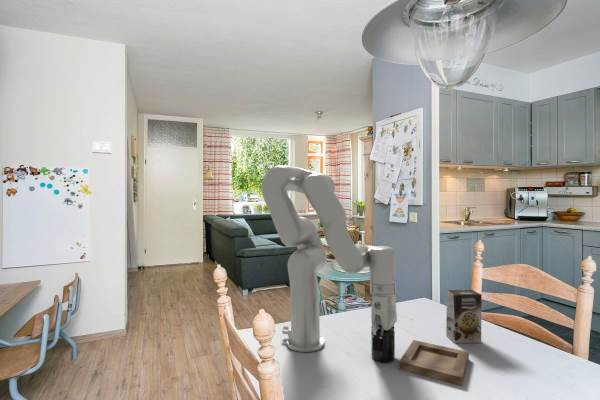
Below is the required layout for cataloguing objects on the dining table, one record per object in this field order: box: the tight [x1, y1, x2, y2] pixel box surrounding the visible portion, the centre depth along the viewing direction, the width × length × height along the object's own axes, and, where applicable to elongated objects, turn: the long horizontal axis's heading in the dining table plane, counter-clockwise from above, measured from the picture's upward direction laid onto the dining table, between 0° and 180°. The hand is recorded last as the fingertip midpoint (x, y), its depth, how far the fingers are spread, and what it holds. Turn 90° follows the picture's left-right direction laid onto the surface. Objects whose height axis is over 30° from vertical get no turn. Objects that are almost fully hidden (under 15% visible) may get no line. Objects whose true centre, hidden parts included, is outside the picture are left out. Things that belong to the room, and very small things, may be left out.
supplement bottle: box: [370, 326, 396, 364], centre depth 102 cm, size 7×7×12 cm
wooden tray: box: [398, 339, 470, 387], centre depth 98 cm, size 16×16×2 cm
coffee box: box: [445, 289, 483, 344], centre depth 113 cm, size 9×6×16 cm
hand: (384, 344), depth 102 cm, fingers open, 9 cm apart
